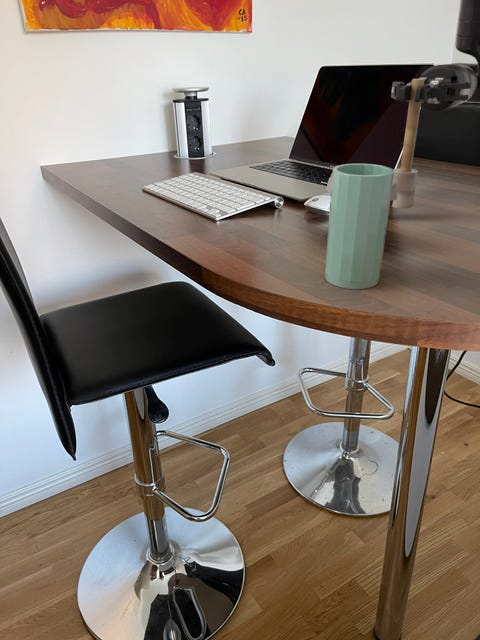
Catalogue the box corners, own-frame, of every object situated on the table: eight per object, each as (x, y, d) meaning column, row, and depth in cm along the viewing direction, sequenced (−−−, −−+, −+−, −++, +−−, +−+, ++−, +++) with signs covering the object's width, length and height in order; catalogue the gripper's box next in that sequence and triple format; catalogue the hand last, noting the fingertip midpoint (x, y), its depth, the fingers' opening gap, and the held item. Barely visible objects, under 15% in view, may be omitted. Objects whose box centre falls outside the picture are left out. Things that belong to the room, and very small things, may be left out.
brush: (409, 202, 89) (428, 78, 80) (415, 208, 86) (435, 79, 76) (386, 202, 89) (402, 78, 80) (391, 208, 86) (408, 79, 76)
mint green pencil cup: (373, 268, 68) (387, 163, 62) (383, 289, 62) (399, 176, 56) (322, 267, 69) (330, 163, 62) (327, 288, 63) (336, 176, 56)
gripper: (409, 64, 91) (370, 67, 79) (489, 64, 84) (461, 67, 71) (403, 108, 94) (365, 118, 82) (480, 112, 87) (451, 123, 75)
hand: (410, 94), depth 77 cm, fingers closed on brush, 2 cm apart
